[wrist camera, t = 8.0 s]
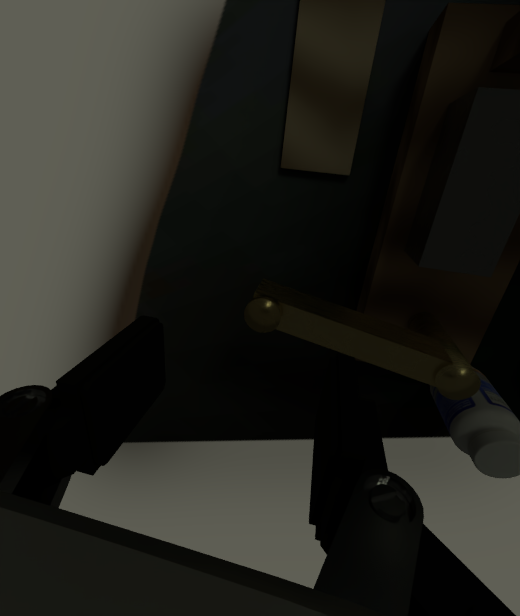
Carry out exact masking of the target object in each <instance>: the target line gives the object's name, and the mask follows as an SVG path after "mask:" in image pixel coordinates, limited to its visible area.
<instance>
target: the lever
mask: <svg viewBox="0 0 520 616" xmlns="http://www.w3.org/2000/svg"><path fill="white" fill-rule="evenodd" d="M244 318H245V321H246V323H247V324H248V326H249V327H250V328H252V329H253V330H255V331H257V332H261V333H267V332H271V331H273V330H274V329H277V330H280V331H282V332H285V333H288V334H291V335H293V336H296V337H299V338H302V339H304V340H307V341H310V342H313V343H315V344H318V345H321V346H324V347H327V348H329V349H332V350H335V351H338V352H340V353H343V354H346V355H349V356H352V357H355V358H357V359H360V360H362V361H365V362H368V363H371V364H374V365H376V366H379V367H382V368H385V369H387V370H390V371H393V372H396V373H398V374H401V375H404V376H407V377H409V378H412V379H415V380H418V381H421V382H423V383H426V384H429V385H432V386H434V387H437V388H438V391H439V392H440V393H441V394H442V395H443V396H444V397H446V398H448V399H452V400H463V399H467V398H469V397H471V396H473V395H474V394H476V393H477V392H478V390H479V388H480V386H481V381H480V378H479V376H478V375H477V373H476V372H475V371H474V369H473V368H472V366H471V365H470V364H469V362H468V361H467V359H466V358H465V357H464V355H463V354H462V352H461V351H460V350H459V348H458V347H457V345H456V344H455V343H454V341H453V340H452V338H451V337H450V336H449V334H448V333H447V331H446V330H445V329H444V327H443V326H442V324H441V323H440V322H439V320H438V319H437V317H436V316H435V315H433V314H431V313H429V312H421V313H417V314H415V315H414V316H413V317H411V319H410V320H409V322H408V329H409V330H408V329H406V328H403V327H400V326H397V325H394V324H391V323H389V322H386V321H383V320H380V319H377V318H374V317H371V316H369V315H366V314H363V313H360V312H357V311H354V310H352V309H349V308H346V307H343V306H340V305H337V304H334V303H332V302H329V301H326V300H323V299H320V298H317V297H315V296H312V295H309V294H306V293H303V292H300V291H297V290H295V289H292V288H289V287H286V286H283V285H280V284H277V283H275V282H272V281H269V280H266V279H263V280H262V282H261V283H260V285H259V287H258V288H257V290H256V291H255V293H254V296H253V298H252V299H251V300H250V301H249V303H248V305H247V306H246V308H245V311H244Z"/></svg>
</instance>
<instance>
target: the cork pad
mask: <svg viewBox="0 0 520 616" xmlns="http://www.w3.org/2000/svg"><path fill="white" fill-rule="evenodd" d="M384 5H385V0H300V5H299V14H298V23H297V31H296V40H295V49H294V57H293V66H292V75H291V83H290V92H289V100H288V109H287V118H286V126H285V135H284V144H283V152H282V161H281V168H287V169H296V170H305V171H314V172H323V173H332V174H341V175H350V170H351V165H352V161H353V156H354V151H355V146H356V141H357V136H358V131H359V126H360V122H361V117H362V112H363V107H364V102H365V97H366V92H367V88H368V83H369V78H370V73H371V68H372V63H373V58H374V54H375V49H376V44H377V39H378V34H379V29H380V24H381V20H382V15H383V10H384Z"/></svg>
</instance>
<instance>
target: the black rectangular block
mask: <svg viewBox="0 0 520 616" xmlns="http://www.w3.org/2000/svg"><path fill="white" fill-rule="evenodd" d="M519 214H520V90H516V89H500V88H485V87H478V88H476V89H474V90H472V91H471V92H469V93H467V94H465V95H464V96H462V97H460V98H458V99H456V100H455V101H453V102H451V103H449V106H448V109H447V113H446V116H445V119H444V123H443V126H442V129H441V132H440V136H439V139H438V142H437V145H436V149H435V152H434V155H433V158H432V162H431V165H430V168H429V171H428V175H427V178H426V181H425V185H424V188H423V191H422V194H421V198H420V201H419V204H418V207H417V211H416V214H415V217H414V220H413V224H412V227H411V230H410V233H409V237H408V240H407V243H406V247H405V250H404V251H405V252H406V253H407V255H408V256H409V257H410V258H411V259H412V260H413V261H414V262H415V263H416V264H417V266H418V267H424V268H431V269H438V270H445V271H451V272H458V273H465V274H471V275H478V276H485V277H491V276H492V274H493V272H494V270H495V267H496V265H497V263H498V261H499V258H500V256H501V254H502V252H503V249H504V247H505V245H506V243H507V241H508V238H509V236H510V234H511V232H512V229H513V227H514V225H515V223H516V220H517V218H518V216H519Z"/></svg>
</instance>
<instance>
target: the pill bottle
mask: <svg viewBox="0 0 520 616" xmlns="http://www.w3.org/2000/svg"><path fill="white" fill-rule="evenodd" d="M472 368H473V367H472ZM473 369H474V371H475V372H476V373H477V375H478V376H479V378H480V381H481V386H480V388H479V390H478V392H477V393H476V394H474V395H473V396H471V397H469V398H467V399H463V400H452V399H448V398H446V397H444V396H443V395H442V394H441V393H440V392H439V391H438V388H437V387H434V386H432V385H430V392H431V395H432V397H433V399H434V401H435V403H436V406H437V408H438V410H439V412H440V414H441V416H442V418H443V420H444V423H445V425H446V427H447V429H448V431H449V433H450V436H451V438H452V440H453V441H454V443H455V445H456V446H457V447H458V448H459V449H460V450H461V451H463V452H464V453H466V454H468V455H470V457H471V459H472V461H473V462H474V464H475V466H476V468H477V469H478V470H479V471H480V472H482V473H483V474H485V475H488V476H491V477H495V478H511V477H515V476H518V475H520V422H519V420H518V419H517V417H516V416H515V415H514V413H513V412H512V411H511V409H510V408H509V407H508V405H507V404H506V403H505V401H504V400H503V399H502V398H501V396H500V395H499V394H498V392H497V391H496V390H495V388H494V387H493V386H492V384H491V383H490V382H489V381H488V379H487V378H486V377H485V375H483V374H482V373H481V372H480V371H479V370H477V369H475V368H473Z"/></svg>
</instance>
